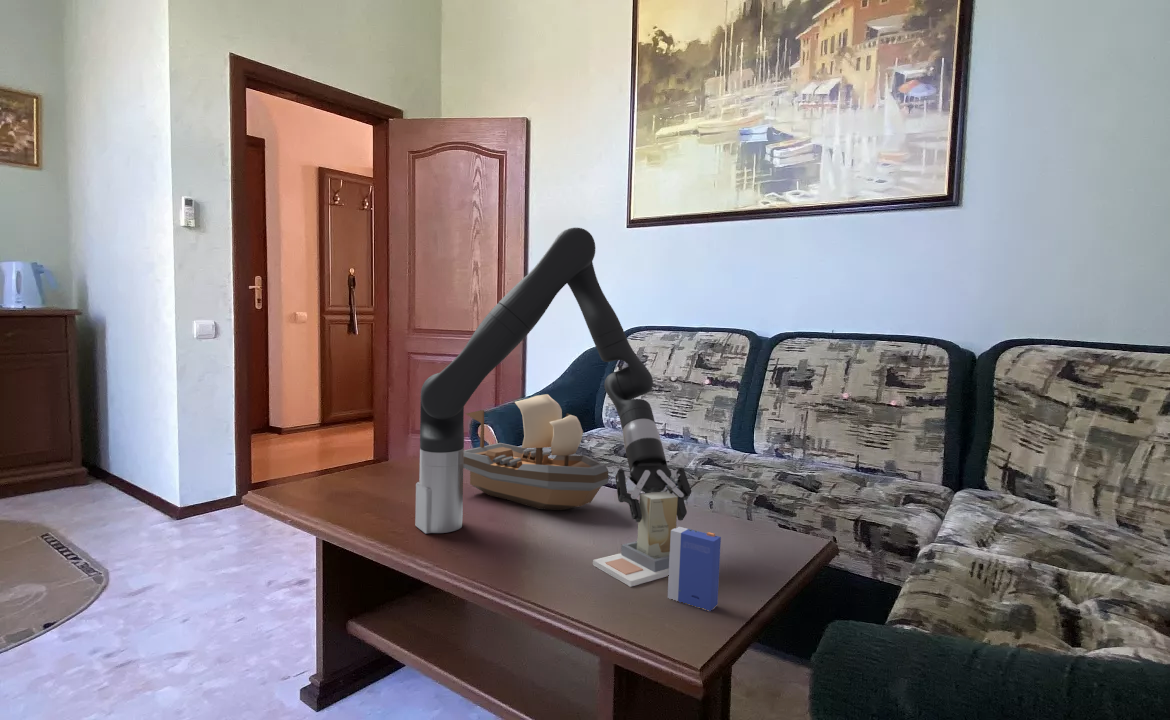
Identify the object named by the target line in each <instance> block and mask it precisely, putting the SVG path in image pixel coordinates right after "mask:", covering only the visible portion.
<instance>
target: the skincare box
mask: <svg viewBox="0 0 1170 720" xmlns="http://www.w3.org/2000/svg"><path fill="white" fill-rule="evenodd" d="M677 501H678V497H677V496H675V495H673V494H671V493H668V492H666V491H665V492H651V493H645V492H642V493H640V494H639V505H640V509H641V514H642V519H641V521H640V522H637V539H636V541H637V550H638V551H640V552H642V553H644V554H646V555H648V556H650V557H652V558H654V559H658V558H661V557H665V556H669V554H670V537H671V530H672V529H674V528H675V529H676V528H677V520H678V517H677Z"/></svg>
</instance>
